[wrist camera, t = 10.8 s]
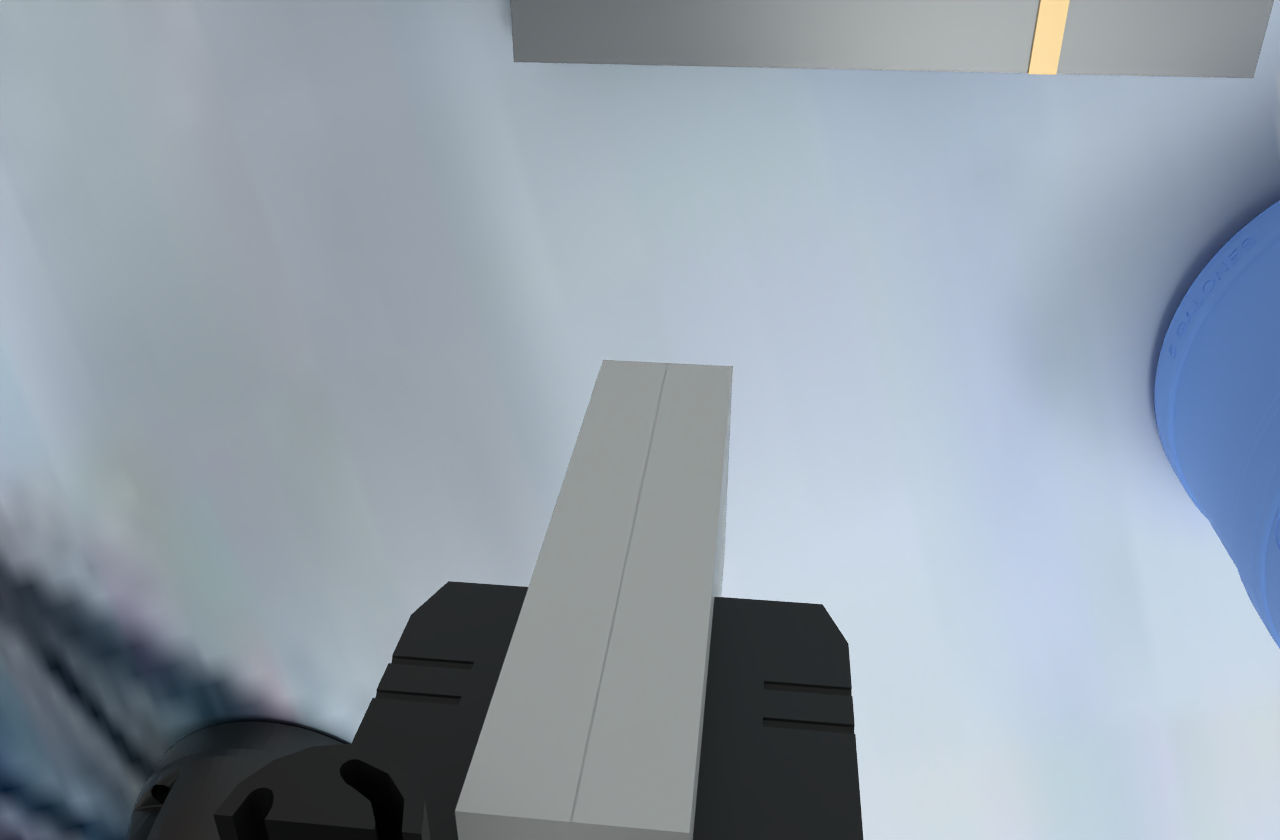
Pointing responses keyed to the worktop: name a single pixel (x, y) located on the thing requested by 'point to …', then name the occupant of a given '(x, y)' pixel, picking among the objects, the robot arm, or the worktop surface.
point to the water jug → (1231, 404)
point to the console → (902, 35)
